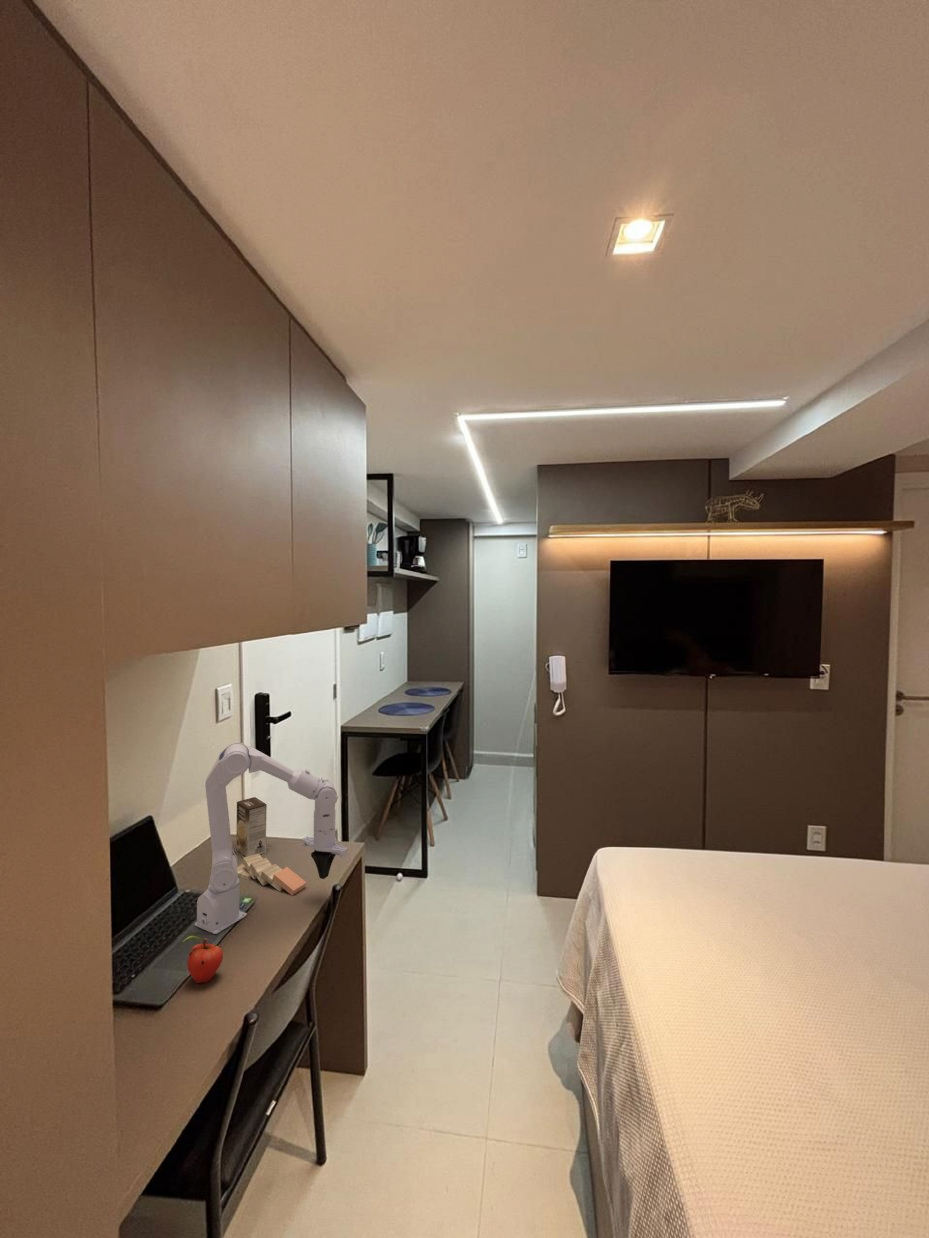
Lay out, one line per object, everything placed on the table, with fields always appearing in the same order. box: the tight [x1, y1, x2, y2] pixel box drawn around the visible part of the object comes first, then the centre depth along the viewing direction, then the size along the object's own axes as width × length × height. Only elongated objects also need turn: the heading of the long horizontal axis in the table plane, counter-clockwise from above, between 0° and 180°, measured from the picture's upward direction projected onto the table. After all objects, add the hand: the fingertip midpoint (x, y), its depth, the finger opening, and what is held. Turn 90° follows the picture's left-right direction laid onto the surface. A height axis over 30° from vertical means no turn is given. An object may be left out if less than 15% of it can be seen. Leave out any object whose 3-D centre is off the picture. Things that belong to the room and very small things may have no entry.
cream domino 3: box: [249, 857, 273, 886], centre depth 157 cm, size 2×5×8 cm
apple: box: [181, 935, 224, 984], centre depth 114 cm, size 8×7×10 cm
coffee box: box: [235, 796, 268, 857], centre depth 175 cm, size 9×6×16 cm
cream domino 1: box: [237, 863, 253, 881], centre depth 160 cm, size 2×5×8 cm
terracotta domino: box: [273, 866, 307, 896], centre depth 152 cm, size 2×5×8 cm
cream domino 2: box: [241, 854, 264, 880], centre depth 160 cm, size 2×5×8 cm
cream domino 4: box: [261, 863, 285, 892], centre depth 154 cm, size 2×5×8 cm
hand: (323, 876), depth 146 cm, fingers closed
